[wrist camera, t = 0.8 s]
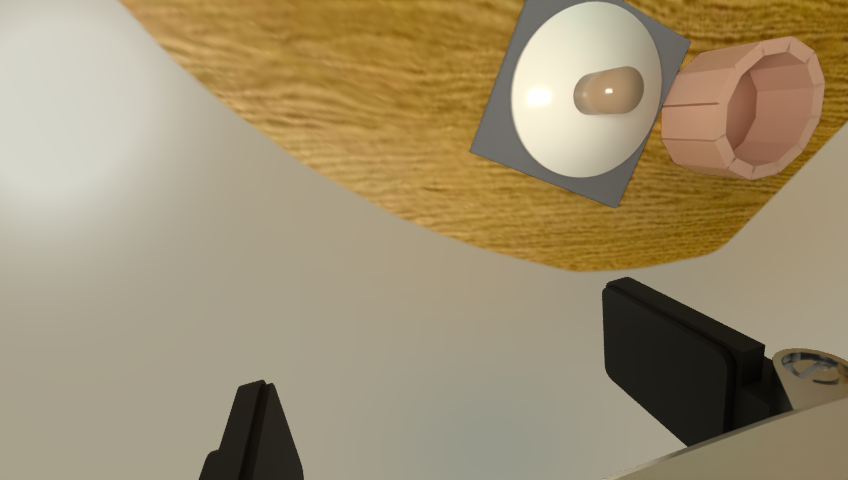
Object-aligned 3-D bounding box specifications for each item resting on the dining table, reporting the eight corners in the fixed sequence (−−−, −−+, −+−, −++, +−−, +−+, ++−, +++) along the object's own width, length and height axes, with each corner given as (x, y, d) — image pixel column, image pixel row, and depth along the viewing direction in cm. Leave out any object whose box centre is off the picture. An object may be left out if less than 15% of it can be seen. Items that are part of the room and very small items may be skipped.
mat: (541, -43, 35) (544, -46, 34) (685, 42, 40) (691, 41, 39) (469, 151, 37) (471, 152, 37) (612, 207, 43) (616, 208, 42)
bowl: (696, 29, 40) (758, 13, 34) (776, 78, 43) (844, 71, 38) (642, 148, 42) (693, 152, 36) (723, 186, 45) (780, 194, 40)
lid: (549, -28, 34) (589, -54, 29) (678, 47, 39) (731, 35, 34) (485, 145, 37) (511, 148, 32) (613, 196, 42) (653, 205, 37)
